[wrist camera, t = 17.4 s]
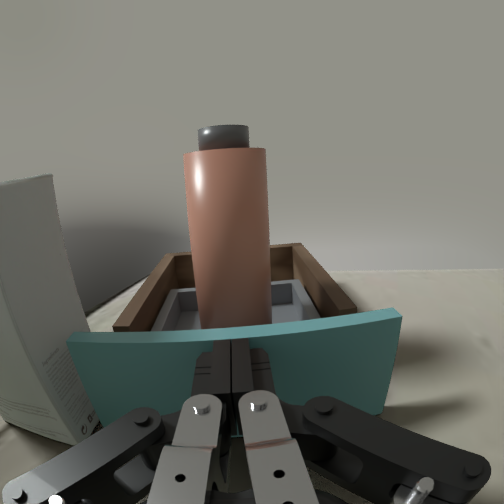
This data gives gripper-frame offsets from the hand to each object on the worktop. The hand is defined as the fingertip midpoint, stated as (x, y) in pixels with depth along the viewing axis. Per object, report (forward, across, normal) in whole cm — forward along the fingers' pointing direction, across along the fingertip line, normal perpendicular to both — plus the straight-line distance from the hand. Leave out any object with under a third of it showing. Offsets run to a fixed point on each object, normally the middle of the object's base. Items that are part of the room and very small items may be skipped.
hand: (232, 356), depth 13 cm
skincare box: (+2, +13, +6) cm, 15 cm away
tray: (+8, 0, +6) cm, 9 cm away
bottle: (+9, 0, +5) cm, 10 cm away
